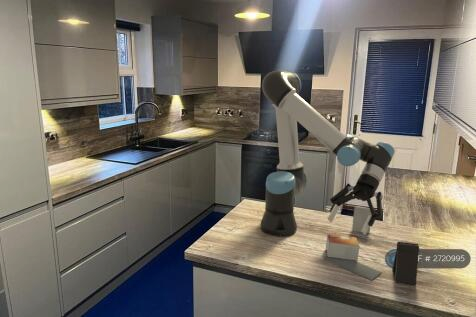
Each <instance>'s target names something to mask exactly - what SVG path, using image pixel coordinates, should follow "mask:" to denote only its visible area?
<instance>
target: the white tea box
mask: <svg viewBox="0 0 476 317" xmlns="http://www.w3.org/2000/svg"><path fill="white" fill-rule="evenodd" d="M369 215H371V211H370V209H369V207H363V206H362V207H361V206H356V205H355V206H354V211H353V216H352V217H353V219H352V227H351V228H352V229H351V230H352V231H355V232H359V233H360V232H361V233H362V231H361V230H362V228H363V226H364V224H365V222H366V220H367V218H368V216H369ZM371 216H372V215H371ZM370 231H371V226H369V229H368V231H367V233H366V234H370Z"/></svg>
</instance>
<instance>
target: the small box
mask: <svg viewBox="0 0 476 317" xmlns="http://www.w3.org/2000/svg"><path fill="white" fill-rule="evenodd" d="M325 248H326V253H327V256H328V257H333V258H341V259H349V260H354V261H358V260H359V254H360V244H359V241H358V239H357V237H354V236H347V235H338V234H331V233H330V234H329V233H328V234H327V235H326V243H325Z"/></svg>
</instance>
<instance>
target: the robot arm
mask: <svg viewBox="0 0 476 317" xmlns="http://www.w3.org/2000/svg"><path fill="white" fill-rule="evenodd" d="M301 89H302V81H301V79H300V77H299V75H298V74H297V73H295V72H293V71H290V70H273V71H271V72H268V73H267V74H266V75H265V76H264V78H263V79H262V83H261V90H262V93H263V95H264V96H265V97H266V99H267V100H268V101H269V102H271V106H273V107H274V109H275V119H276V130H277V142H278V154H279V155H278V156H279V157H278V158H279V162H278V164H277V165H276V171H274V172H271V173H269V174H268V175H267V177H266V181H265V210H264V213H263V216H262V219H261V220H260V230H261V231H262V232H263V233H265V234H267V235H270V236H272V237H273V236H274V237H288V236H292V235H294V234H296V232H297V228H298V224H297V222H296V216H295V213H294V210H295V208H294V207H295V198H296V197H297V196H298V195H299V194H301V193H302V192H303V191H304V190H305V188H306V186H307V184H308V176H307V173H306V171H305V170H304V169H305V168H304V164H303V163H302V162H301V161H300V149H299V134H298V123H299V124H300V125H301V126H302V127H303V128H305V130H306V131H308V132H309V133H310V134H312V136H314V137H315V138H316V140H318V141H319V142H320V143H321V144H323V145H324V146H325V147H326V148H327V149H328V150H330V152H331V153H333V154H334V155H335V156H336V157H337V158H336V159H337V161H338V163H339V164H341V165H342V166H344V167H352V166H354V165H355V164H357V163H358V162H359V161H362V162H364V163H365V165H364V168H363V169H362V170H361V174H360V175H359V176H358V179H357V181H356V183H355V185H351V184H350V183H347V184H346V185H345V186H344V188H343V189H341V190H340V191H338V192H337V193H336V194H335V195H334V196H332V197H331V198H330V199H329V202H330V203H331V204H332V206H330V207H331V208H330V209H329V212H330V214H329V215H328V217H327V220H328V221H329V223H333V221H334V219H335V217H336V215H337V213H338V211H339V209H340V206H341V205H344V204H345V203H347V202H349V201H352V200H355V199H356V200H359V201H362V202H366V203H367V206H368V209H370V211H371V215H372V216H371V215H369V216H368V218H367V220H366V222H365V224H364V226H363V228H362V230H361V231H362V232H361V233H362V234H363V235H364V236H366V235H367V234H368V233H367V231H368V229H369V226H370V228H371V227H373V225H374V223H375V221H376V220H383V218H384V216H383V206H382V204H383V203H382V201H383V193H382V192H381V191H377V190H378V189H379V186H380V183H381V181H382V180H383V177H384V176H385V174H386V171H387V170H388V167H389V166H390V164H391V161H392V160H393V157H394V154H395V152H396V150H395V148H394V146H392V145H391V144H390V143H388V142H385V141H384V142H383V141H378V142H377V143H376V144H373V143H370V142H368V141H366V140H363V139H361V138H358V137H357V136H356V135H355V136H354V135H351V134H344V133H343V132H342V131H340V130H339V128H337V127H336V126H335V125H333V124H332V123H331V122H330V121H329V120H328V119H327V118H325V116H323V115H322V114H321V113H320V112H318V111H317V110H316V109H315V108H314V107H312V106H311V105H310V104H309V103H308V102H307V101H305V99H303V98H302V97H301V96H300V92H301V91H302V90H301ZM376 191H377V192H376ZM373 197H375V199H376V211H375V208H374V205H373V203H372V199H371V198H373Z"/></svg>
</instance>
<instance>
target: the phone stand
mask: <svg viewBox="0 0 476 317" xmlns="http://www.w3.org/2000/svg"><path fill="white" fill-rule="evenodd" d="M419 252H420V245H419V244H418V243H414V242H413V243H411V242H406V241H405V242H404V241H397V242H396V251H395V253H394V254H395V255H394V259H393V262H392V267H391V270H392V274H393V279H394V282H395V284H400V285H401V284H402V285H407V286H413V287H416V286H417V281H418V280H417V277H418V263H419Z"/></svg>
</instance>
